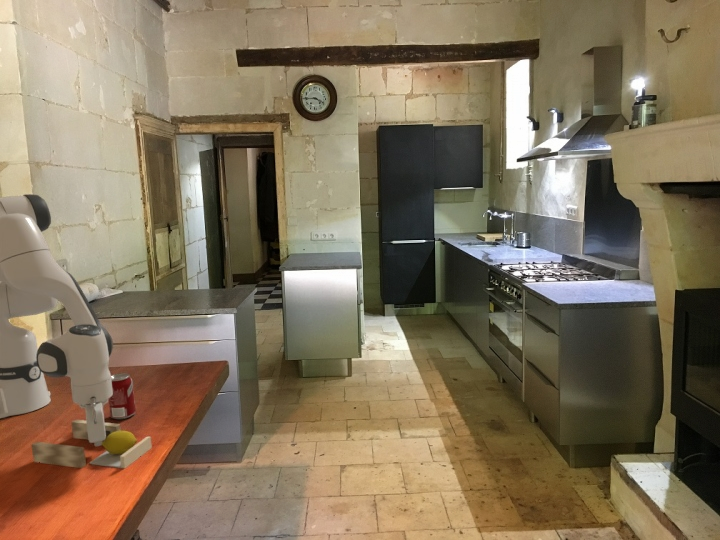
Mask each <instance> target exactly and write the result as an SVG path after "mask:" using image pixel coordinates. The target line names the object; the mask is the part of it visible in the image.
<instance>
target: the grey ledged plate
mask: <svg viewBox="0 0 720 540" xmlns="http://www.w3.org/2000/svg"><path fill="white" fill-rule="evenodd" d="M151 438H152V437H151V436H146V437H144V438H142V440H140V441H139V442H136V443H135V445H134V446H133V447H132V448H131V449H129V450H128V451H126V452H125V453H123V454H111V453H109V452H108V451H107V450H106V451H104V452H103V453H101V454H100V455H99V456H97V457H95V458H94V459H93V460H92V461H90V462H89V465H93V466H94V465H95V466H102V467H108V468H109V467H111V468H119V469H126V468H127V467H129V466H130V465H132V464H133V463H134V462H135V461H137V460H138V459H139V458H141V457H142V456H144V455H145V454H146V453H147V452H149V451H150V450H151V449H153V447H152V439H151ZM140 456H141V457H140Z"/></svg>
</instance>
